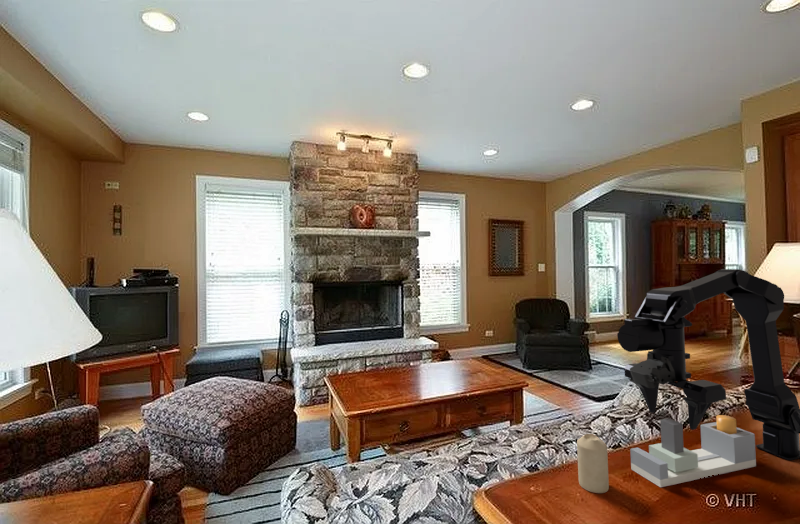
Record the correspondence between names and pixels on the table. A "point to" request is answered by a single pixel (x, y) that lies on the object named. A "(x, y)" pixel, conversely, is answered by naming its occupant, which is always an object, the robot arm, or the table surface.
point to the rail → (701, 457)
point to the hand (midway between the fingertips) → (671, 420)
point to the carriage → (673, 447)
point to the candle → (592, 464)
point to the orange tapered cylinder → (726, 424)
